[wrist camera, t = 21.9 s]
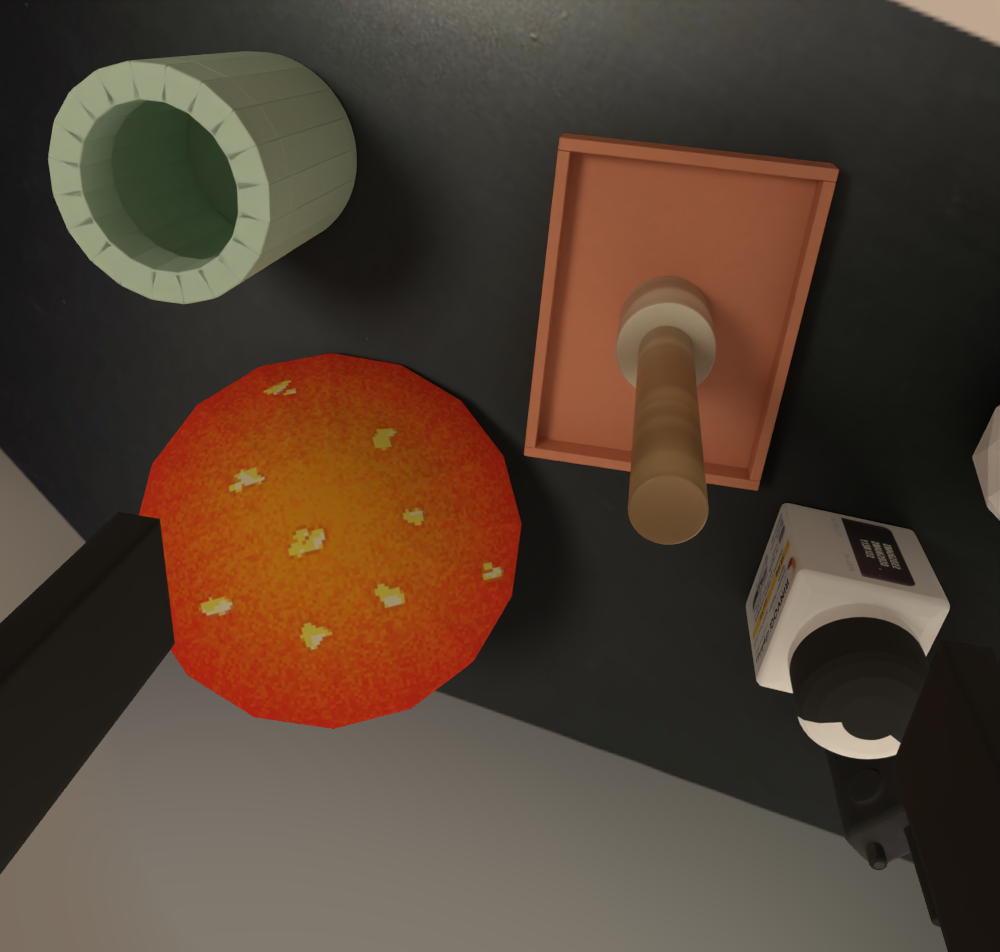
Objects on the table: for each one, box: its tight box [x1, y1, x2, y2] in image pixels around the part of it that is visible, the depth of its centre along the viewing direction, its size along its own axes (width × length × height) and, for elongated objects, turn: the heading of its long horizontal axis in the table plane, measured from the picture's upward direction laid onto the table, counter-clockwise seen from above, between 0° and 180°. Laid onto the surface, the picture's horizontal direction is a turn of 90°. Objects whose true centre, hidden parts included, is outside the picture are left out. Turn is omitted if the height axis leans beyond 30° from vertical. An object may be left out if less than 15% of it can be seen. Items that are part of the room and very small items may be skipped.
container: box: [746, 503, 950, 759], centre depth 48 cm, size 8×8×13 cm
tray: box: [524, 133, 839, 491], centre depth 47 cm, size 17×13×2 cm
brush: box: [616, 276, 716, 544], centre depth 39 cm, size 5×5×21 cm
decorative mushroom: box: [139, 353, 522, 729], centre depth 49 cm, size 15×21×15 cm
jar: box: [48, 51, 357, 304], centre depth 42 cm, size 10×10×12 cm
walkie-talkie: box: [825, 749, 940, 927], centre depth 52 cm, size 5×3×15 cm
